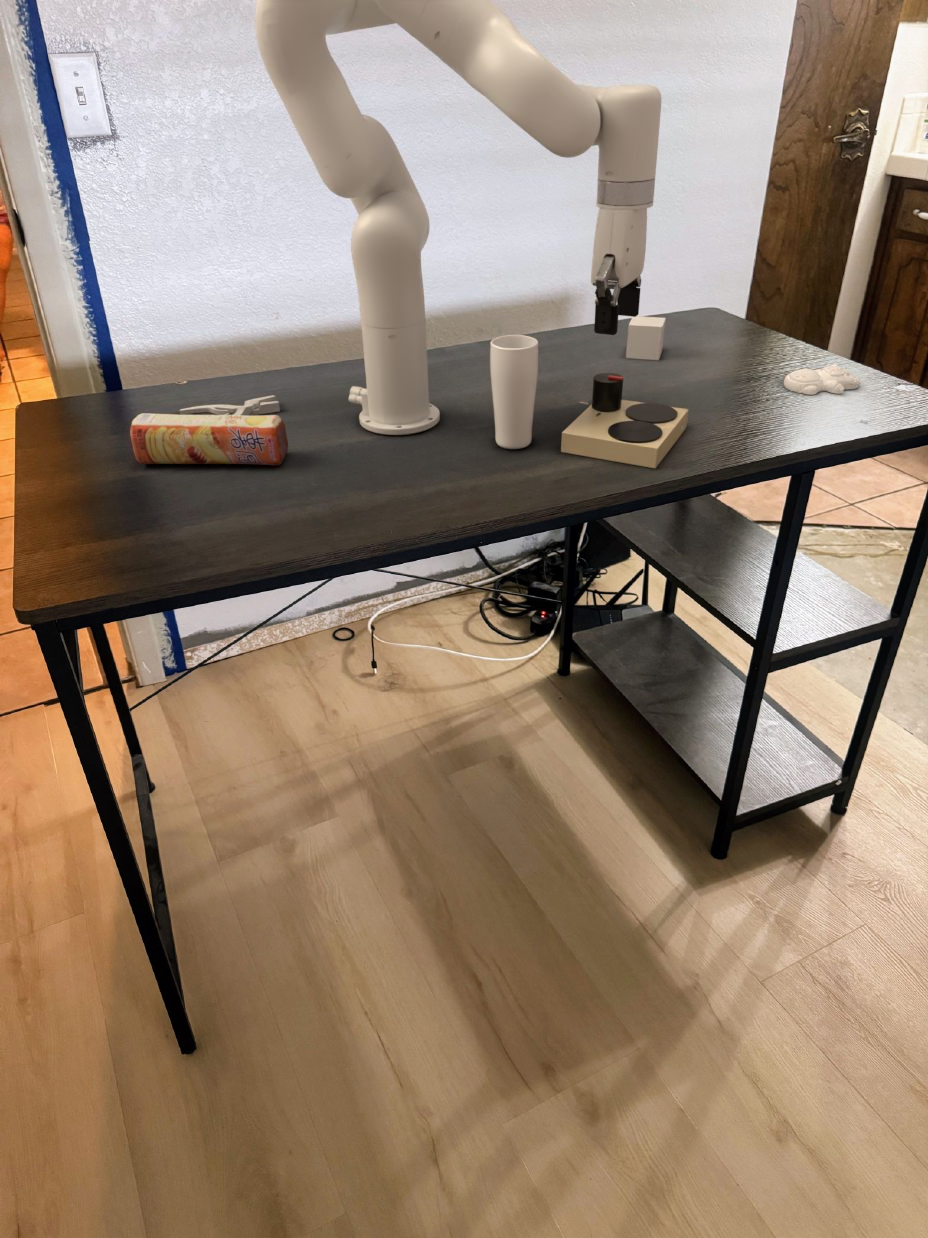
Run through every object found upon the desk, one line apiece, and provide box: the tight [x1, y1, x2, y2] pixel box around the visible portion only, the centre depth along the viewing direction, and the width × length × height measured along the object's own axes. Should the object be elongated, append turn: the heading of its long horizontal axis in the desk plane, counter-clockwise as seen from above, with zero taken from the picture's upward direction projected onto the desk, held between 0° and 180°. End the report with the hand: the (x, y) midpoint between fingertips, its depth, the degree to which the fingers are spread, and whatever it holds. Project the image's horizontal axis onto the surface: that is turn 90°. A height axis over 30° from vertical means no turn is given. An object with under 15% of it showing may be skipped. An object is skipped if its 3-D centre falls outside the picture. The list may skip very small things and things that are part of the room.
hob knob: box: [591, 372, 624, 412], centre depth 131 cm, size 4×4×5 cm
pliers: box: [179, 395, 281, 416], centre depth 141 cm, size 10×2×15 cm
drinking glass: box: [489, 334, 540, 450], centre depth 125 cm, size 7×7×15 cm
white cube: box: [625, 315, 667, 361], centre depth 161 cm, size 6×6×6 cm
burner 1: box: [625, 402, 678, 424], centre depth 130 cm, size 8×8×1 cm
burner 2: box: [608, 421, 663, 443], centre depth 124 cm, size 8×8×1 cm
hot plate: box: [560, 399, 689, 469], centre depth 129 cm, size 16×16×3 cm
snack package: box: [129, 412, 289, 466], centre depth 125 cm, size 21×7×7 cm, turn 87°
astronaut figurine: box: [783, 363, 861, 396], centre depth 146 cm, size 9×12×3 cm
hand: (616, 324), depth 126 cm, fingers open, 9 cm apart
